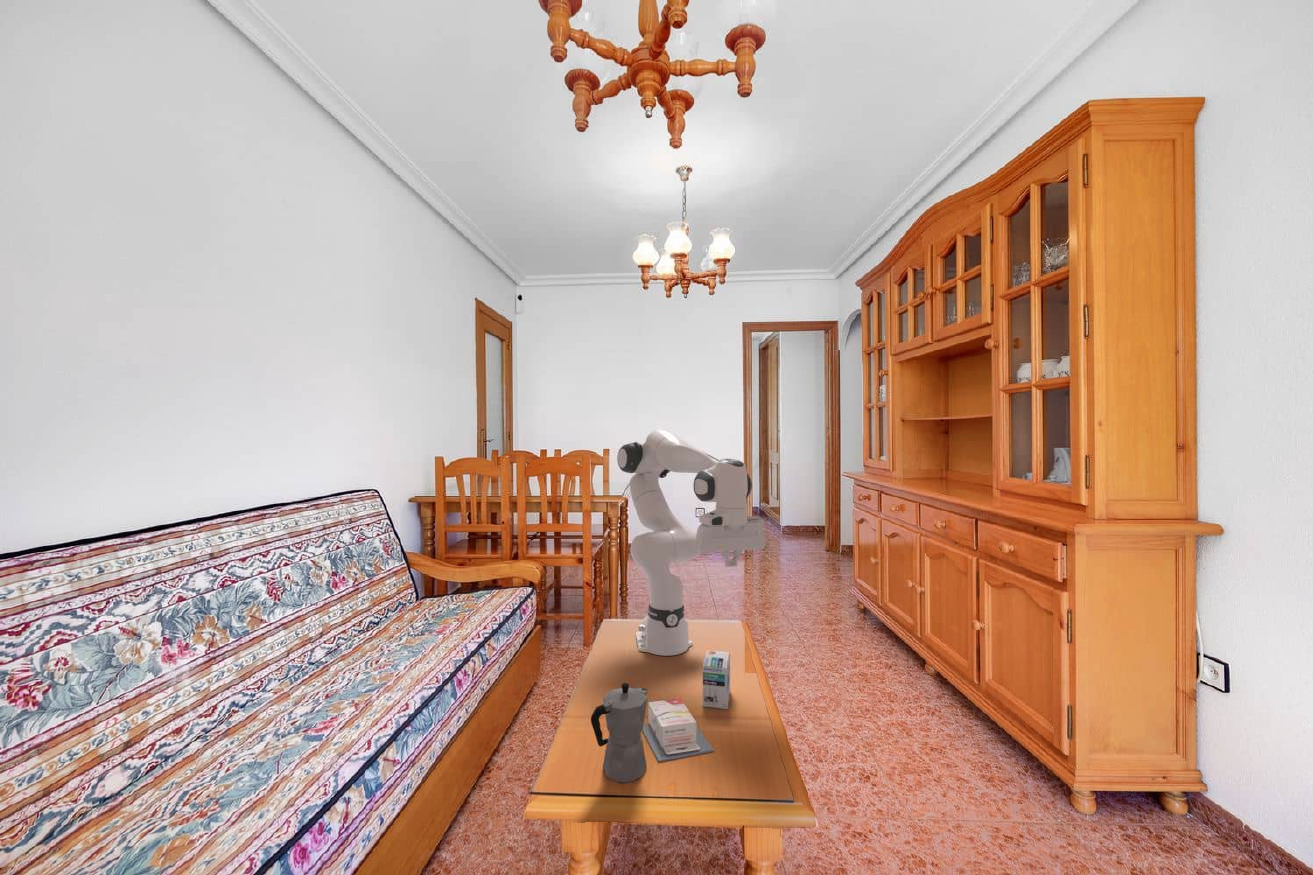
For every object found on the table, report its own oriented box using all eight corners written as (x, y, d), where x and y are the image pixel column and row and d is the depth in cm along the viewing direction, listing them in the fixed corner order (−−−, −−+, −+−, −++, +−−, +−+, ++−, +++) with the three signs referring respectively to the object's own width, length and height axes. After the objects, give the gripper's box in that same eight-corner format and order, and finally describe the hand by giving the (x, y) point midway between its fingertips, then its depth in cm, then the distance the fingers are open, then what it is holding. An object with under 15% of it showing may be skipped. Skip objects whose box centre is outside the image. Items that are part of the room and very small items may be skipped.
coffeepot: (633, 746, 116) (633, 666, 117) (662, 765, 110) (663, 680, 110) (577, 777, 106) (577, 689, 106) (605, 800, 99) (606, 706, 99)
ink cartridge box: (680, 696, 129) (702, 728, 114) (680, 716, 128) (702, 750, 114) (647, 701, 126) (666, 734, 112) (647, 721, 126) (665, 757, 112)
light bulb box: (727, 710, 133) (728, 668, 133) (701, 707, 134) (702, 665, 134) (730, 690, 143) (730, 651, 143) (706, 687, 144) (706, 649, 144)
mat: (640, 727, 124) (640, 725, 124) (690, 718, 128) (690, 717, 128) (658, 762, 111) (658, 760, 111) (713, 751, 115) (713, 749, 115)
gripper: (758, 514, 151) (758, 561, 151) (693, 516, 144) (693, 566, 144) (769, 517, 145) (769, 566, 145) (702, 520, 138) (702, 571, 138)
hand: (731, 566), depth 144 cm, fingers closed
